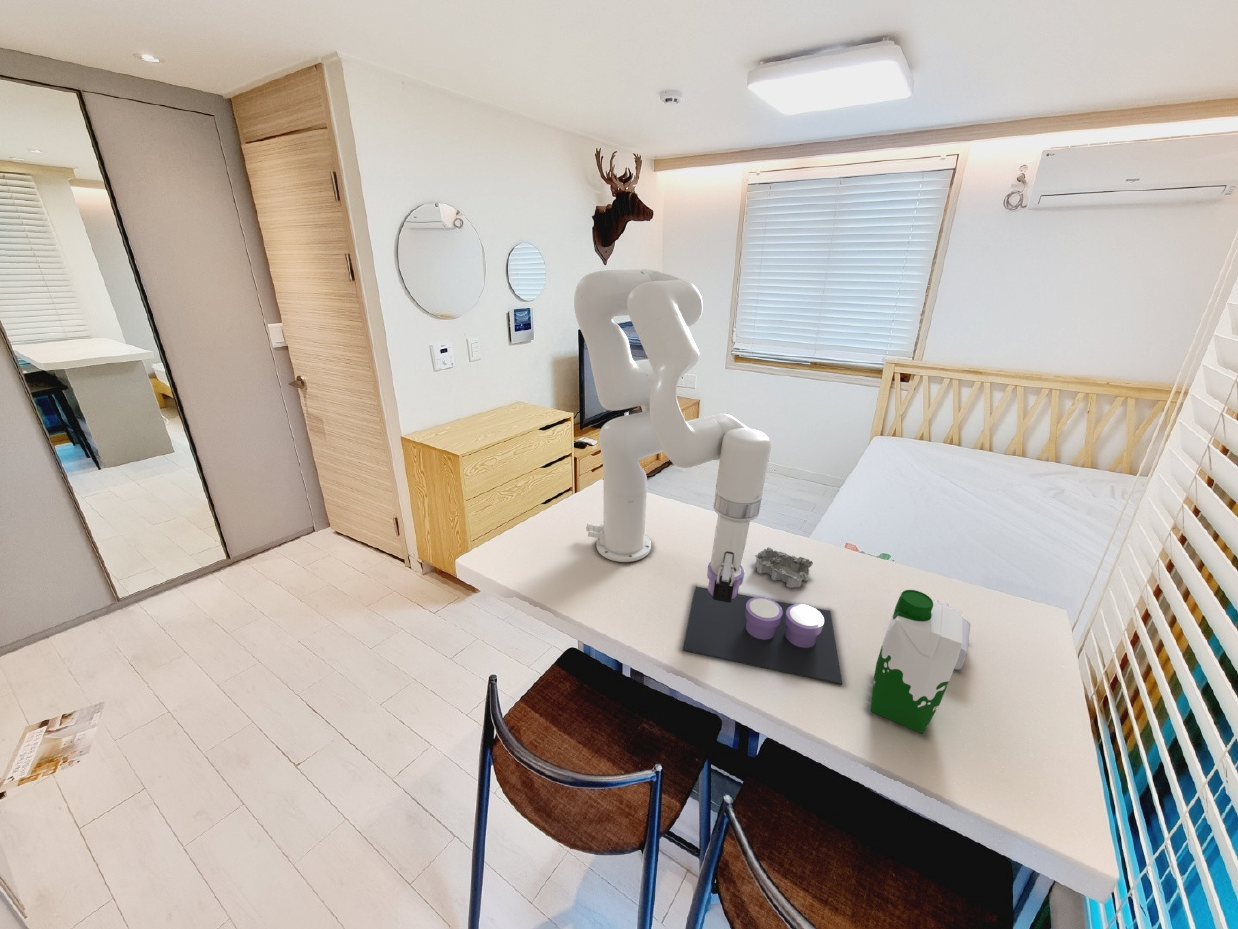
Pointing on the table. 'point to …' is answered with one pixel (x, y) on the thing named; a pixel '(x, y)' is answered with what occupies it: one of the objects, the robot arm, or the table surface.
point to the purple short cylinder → (713, 574)
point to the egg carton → (783, 567)
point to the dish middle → (762, 617)
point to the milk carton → (916, 660)
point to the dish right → (803, 625)
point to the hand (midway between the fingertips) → (723, 586)
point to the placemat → (726, 638)
